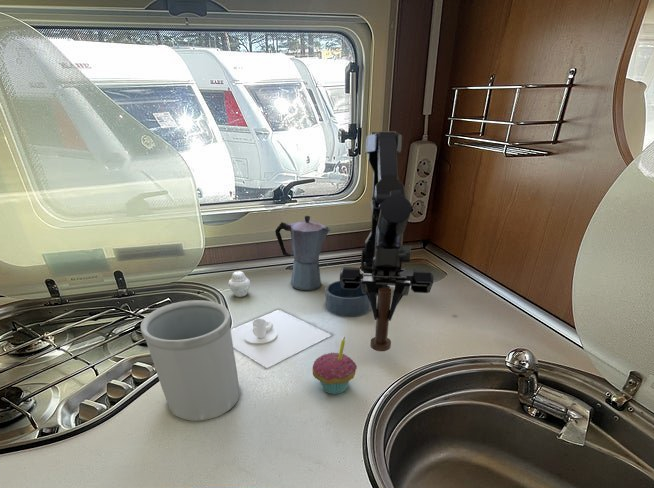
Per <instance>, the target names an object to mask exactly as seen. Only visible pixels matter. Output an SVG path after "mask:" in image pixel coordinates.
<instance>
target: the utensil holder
mask: <svg viewBox="0 0 654 488" xmlns="http://www.w3.org/2000/svg"><path fill="white" fill-rule="evenodd" d="M231 319H232V318H231V314H230V310H229V309H228V308H227V307H226V306H225V305H223V304H221V303H219V302H215V301H211V300H204V299H202V300H201V299H194V300H192V299H191V300H183V301H177V302H172V303H169V304H166V305H163V306H161V307H158V308H156V309H155V310H152V311H151V312H150V313H148V314H147V315H146V316H145V317H144V318H143V319H142V320H141V323H140V332H141V335H142V338H143V339H144V340H145V342H146V345H147V348H148V351H149V354H150V357H151V360H152V363H153V366H154V368H155V372H156V375H157V378H158V380H159V384H160V387H161V389H162V393H163V395H164V397H165V401H166V404H167V406H168V408H169V410H170V411H171V413H172V414H173V415H174V416H176V417H178V418H179V419H182V420H186V421H194V422H197V421H198V422H199V421H200V422H201V421H206V420H211V419H215V418H217V417H220V416H222V415H224V414H226V413H227V412H228V411H230V410H231V409H233V408H234V406H235V405H236V404H237V403H238V401H239V399H240V383H239V382H240V381H239V377H238V376H239V374H238V370H237V363H236V357H235V350H234V349H235V348H233V342H232V336H231V321H232V320H231Z"/></svg>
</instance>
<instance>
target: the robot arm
mask: <svg viewBox="0 0 654 488" xmlns="http://www.w3.org/2000/svg"><path fill="white" fill-rule="evenodd" d="M402 140H403V135H402V134H400V133H399V132H397V131H396V130H395V131H394V130H391V131H390V130H387V131H385V130H384V131H370V134H367V135H366V137H365V154H367V162H368V164H369V166H370V169H371V170H372V172H373V173H372V195H371V197H370V215H371V218H370V222H371V223H370V232H369V234H368V236H367V237H366V239H365V241H364V248H362V249H361V256H360V267H353V266H343V267H342V268H341V269H340V271H339V272H340V273H339V281H340V283H341V288H342V289H351V290H356V289H357V288H359V287H360V283H361V289H362V293H363V294H367V297H368V299H369V301H370V304H371V312H372V315H373V319H374V321H376V320H377V303H378V299H377V295H378V290H379V289H380V288H383V287H386V288H390V285H391V286H394V288H393V294H392V297H391V302H390V312H389V322H391V321H392V318H393V316H394V315H395V312H396V309H397V308H398V305H399V303H400V302H401V300H402V299H403V297H407V296H409V293H410V292H409V291H410V290H411V291H412V292H413V293H415V294H416V293H417V294H429V293H431V290H432V287H433V285H434V277H435V275H434V273H433V271H432V270H423V269H413V272H412V275H401V273H402V265H403V264H410V262H411V255H412V254H411V253H412V252H411V251H412V245H403V240H404V233H405V231H406V229H407V226H408V222H409V220H410V217H411V214H412V213H413V208H414V206H413V205H412V203H411V202H410V199H409V197H408V196H406V189H405V184H404V183H402V182H401V181H400V180H399V172H398V171H399V170H398V169H399V168H398V154H400V153H401V152H402V147H403V146H402V144H403V141H402ZM361 271H362V272H363V273H361Z"/></svg>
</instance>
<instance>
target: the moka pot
mask: <svg viewBox="0 0 654 488" xmlns="http://www.w3.org/2000/svg"><path fill="white" fill-rule="evenodd" d="M281 230H284V231H286V232H290V238H291V247H292V252H287V250H286V247H285V245H284V241H283V238H282V235H281V234H282V233H281ZM330 231H331V229H330V227H328V226H326V225H323V224H322V223H321V222H316V221H311V216H310V215H304V221H296V222H294V223H292V222H291V223H290V222H287V223H286V222H283V221H282V222H280V223H279V225H278V226H277V228H276V229H275V230H274V232H275V236H276V239H277V241H278V244H279V247H280V250H281V253H282V256H284V257H291V256H292V253H293V264H292V272H291V277H290V286H291V287H293V288H294V289H298V290H300V291H314V290H317V289H319V288H320V287H321V284H322V283H321V282H322V281H321V271H320V269H321V268H320V260H319V259H320V255H321V253H322V247H323V243H324V242H325V239H326V237H327V235H329V234H328V233H329V232H330Z"/></svg>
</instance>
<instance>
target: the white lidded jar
mask: <svg viewBox="0 0 654 488" xmlns="http://www.w3.org/2000/svg"><path fill="white" fill-rule="evenodd" d="M228 287H229V289H230V290H231V292H232V294H234V296H235V297H237V298H238V297H239V298H242V297H245V296H247V294H248V292H249V289H250V287H251V281H250V279H249V278H248V277H247V276H246V275H245V273H244V272H243V271H242V270H241V271H240V270H238V271H234V272H233V273H232V274H231V278H230V279H229V280H228Z"/></svg>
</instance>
